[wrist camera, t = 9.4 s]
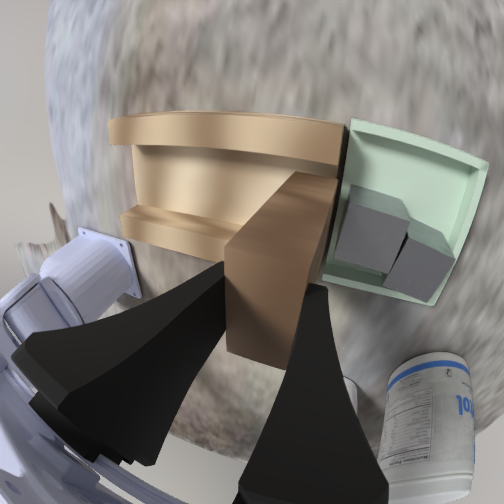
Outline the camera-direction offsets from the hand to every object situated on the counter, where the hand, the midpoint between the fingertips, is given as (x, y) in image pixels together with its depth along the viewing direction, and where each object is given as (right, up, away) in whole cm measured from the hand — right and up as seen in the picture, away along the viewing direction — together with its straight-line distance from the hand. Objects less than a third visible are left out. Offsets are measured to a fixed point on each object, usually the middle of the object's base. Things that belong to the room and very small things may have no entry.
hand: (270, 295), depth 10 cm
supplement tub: (+18, -12, +13) cm, 25 cm away
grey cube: (+7, +4, +7) cm, 11 cm away
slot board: (-3, +7, +10) cm, 12 cm away
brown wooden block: (+3, +4, +6) cm, 8 cm away
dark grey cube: (+10, +2, +7) cm, 12 cm away
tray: (+9, +4, +6) cm, 12 cm away
